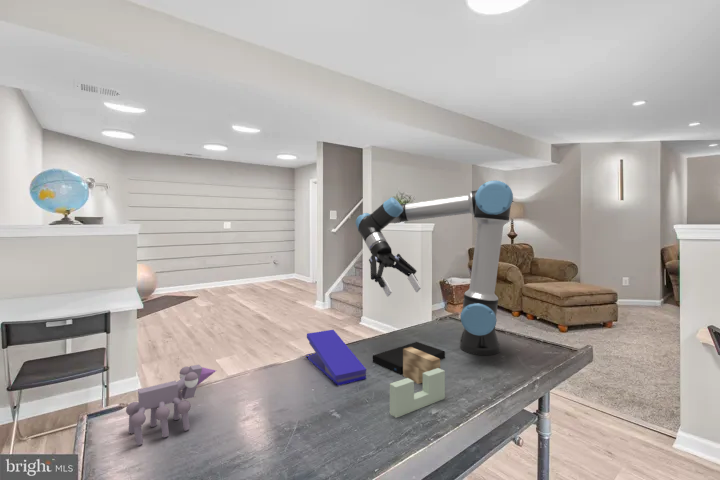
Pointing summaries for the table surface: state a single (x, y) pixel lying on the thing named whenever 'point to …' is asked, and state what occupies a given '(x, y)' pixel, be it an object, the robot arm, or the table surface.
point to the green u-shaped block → (408, 401)
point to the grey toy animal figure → (166, 401)
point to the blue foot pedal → (335, 358)
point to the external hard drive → (395, 356)
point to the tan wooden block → (418, 364)
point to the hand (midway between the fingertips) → (404, 292)
